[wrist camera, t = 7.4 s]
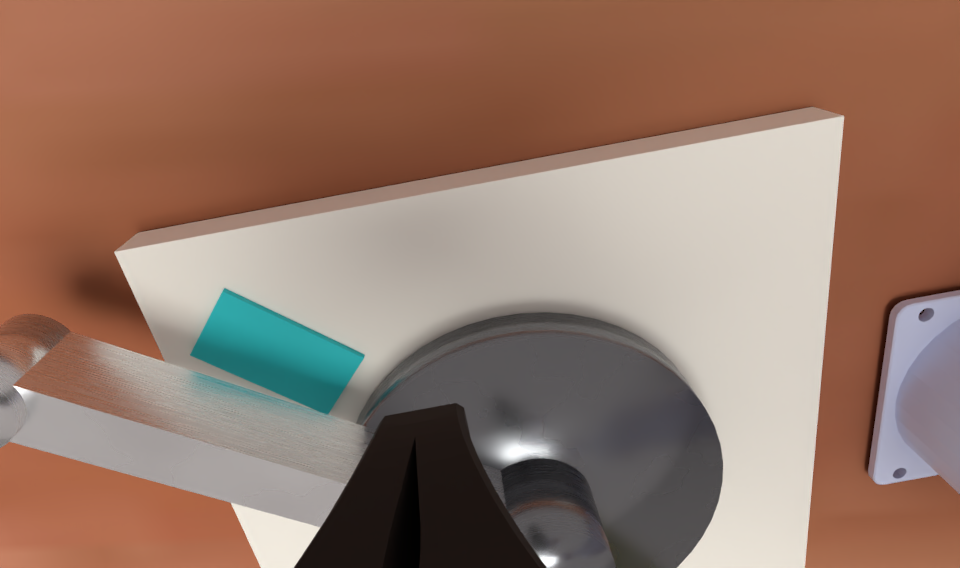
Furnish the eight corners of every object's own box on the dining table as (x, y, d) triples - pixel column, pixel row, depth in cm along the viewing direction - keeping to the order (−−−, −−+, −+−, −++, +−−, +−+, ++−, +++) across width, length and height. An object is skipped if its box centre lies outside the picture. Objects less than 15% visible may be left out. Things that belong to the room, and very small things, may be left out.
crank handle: (775, 390, 20) (858, 485, 16) (592, 623, 24) (623, 743, 20) (74, 103, 15) (-53, 142, 11) (-1, 466, 19) (-112, 586, 15)
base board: (812, 106, 18) (848, 117, 16) (782, 576, 26) (803, 612, 25) (138, 232, 18) (110, 254, 16) (326, 659, 27) (319, 700, 25)
